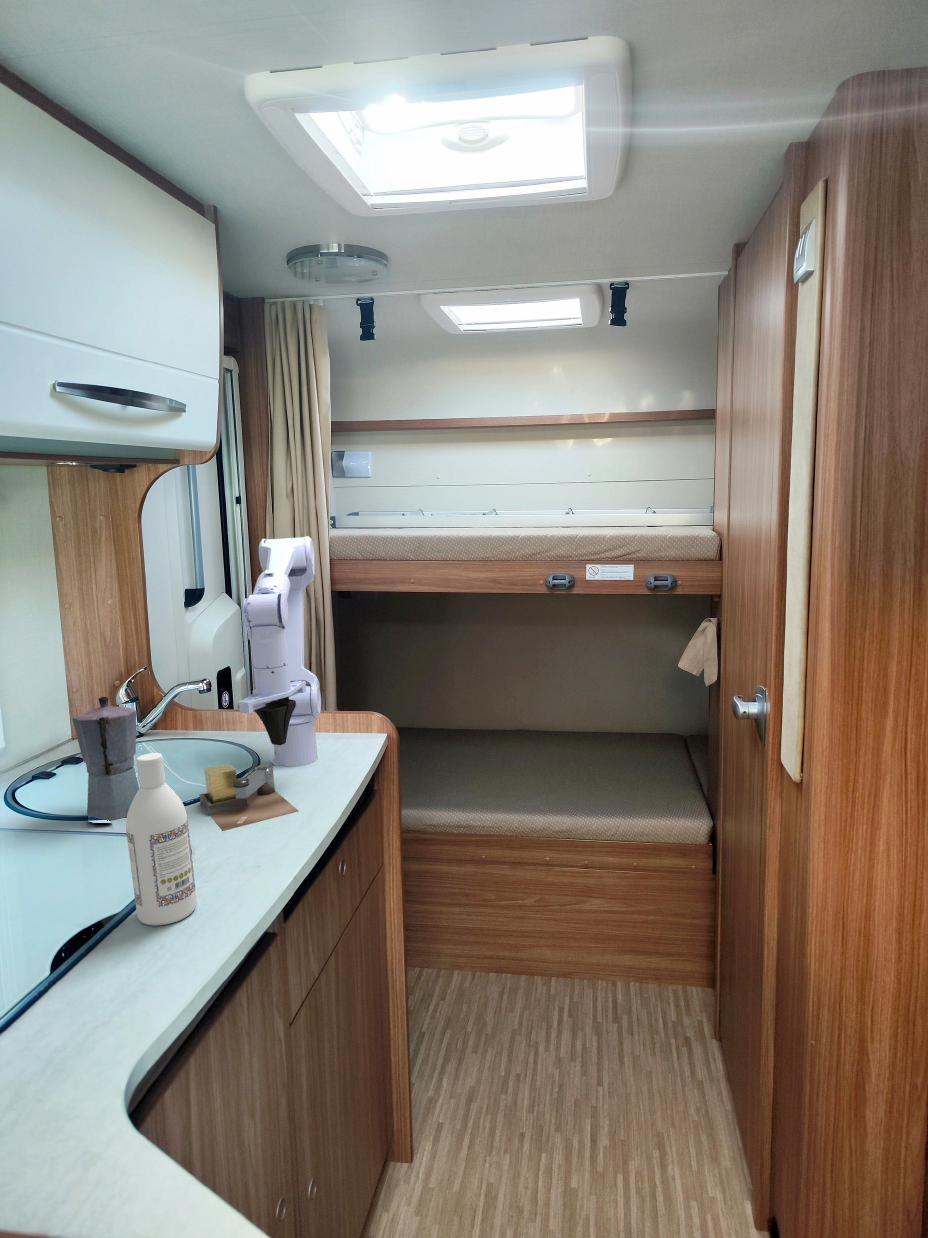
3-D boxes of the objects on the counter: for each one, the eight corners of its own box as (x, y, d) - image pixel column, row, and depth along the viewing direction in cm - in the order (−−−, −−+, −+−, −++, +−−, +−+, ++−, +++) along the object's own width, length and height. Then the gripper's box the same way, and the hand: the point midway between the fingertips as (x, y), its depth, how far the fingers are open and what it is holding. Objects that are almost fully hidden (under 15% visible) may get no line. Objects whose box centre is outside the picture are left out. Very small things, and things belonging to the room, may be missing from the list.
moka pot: (145, 796, 139) (132, 685, 136) (152, 826, 125) (137, 703, 122) (85, 808, 135) (70, 694, 132) (86, 840, 121) (69, 713, 118)
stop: (208, 803, 130) (204, 768, 129) (232, 798, 132) (228, 763, 131) (214, 811, 127) (210, 775, 126) (239, 805, 129) (235, 769, 128)
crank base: (201, 809, 131) (199, 794, 131) (271, 792, 137) (270, 778, 137) (223, 837, 119) (221, 820, 119) (299, 817, 125) (298, 801, 125)
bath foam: (208, 900, 100) (191, 747, 97) (177, 929, 93) (158, 766, 90) (159, 897, 101) (141, 747, 98) (125, 925, 95) (105, 765, 92)
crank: (261, 788, 136) (258, 759, 135) (277, 788, 136) (275, 760, 135) (231, 813, 125) (228, 783, 125) (249, 814, 125) (246, 783, 124)
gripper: (281, 655, 140) (288, 729, 142) (221, 673, 127) (230, 754, 129) (313, 657, 136) (319, 732, 139) (255, 676, 124) (263, 759, 126)
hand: (278, 743), depth 134 cm, fingers closed
